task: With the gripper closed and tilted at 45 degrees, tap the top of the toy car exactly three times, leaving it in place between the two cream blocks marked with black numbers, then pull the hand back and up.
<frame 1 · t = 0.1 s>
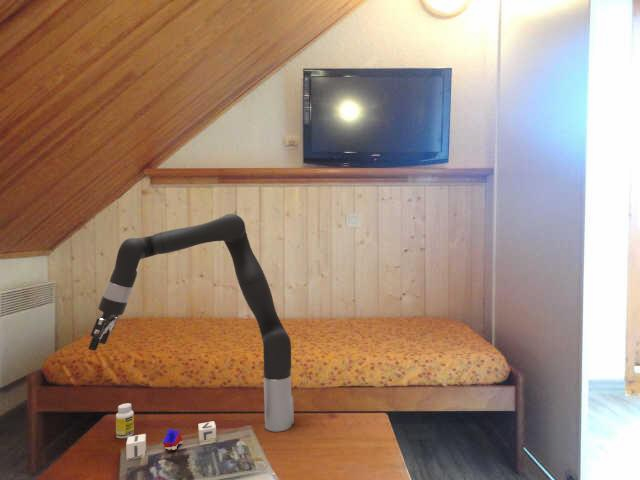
hand: (97, 346, 127), 31 cm above the table, tool tilted 20°, fingers open, 8 cm apart
toy car: (173, 448, 124), on the table
supplement bottle: (125, 435, 133), on the table
cream block marked 1: (136, 455, 120), on the table
cream block marked 7: (207, 441, 128), on the table
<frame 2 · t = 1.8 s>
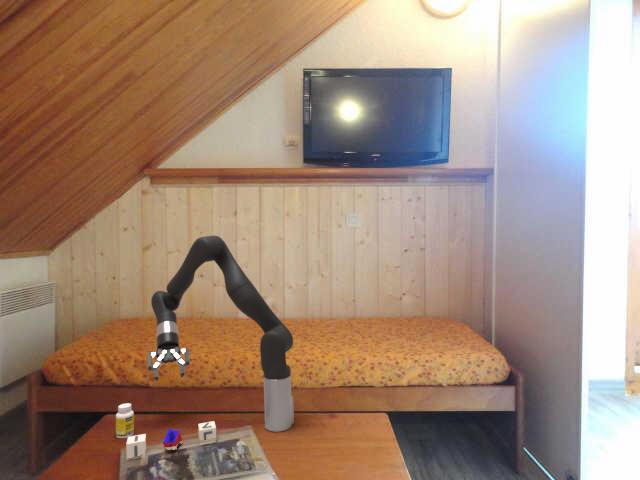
hand: (169, 377, 137), 18 cm above the table, tool tilted 45°, fingers open, 7 cm apart
nothing on the table moved.
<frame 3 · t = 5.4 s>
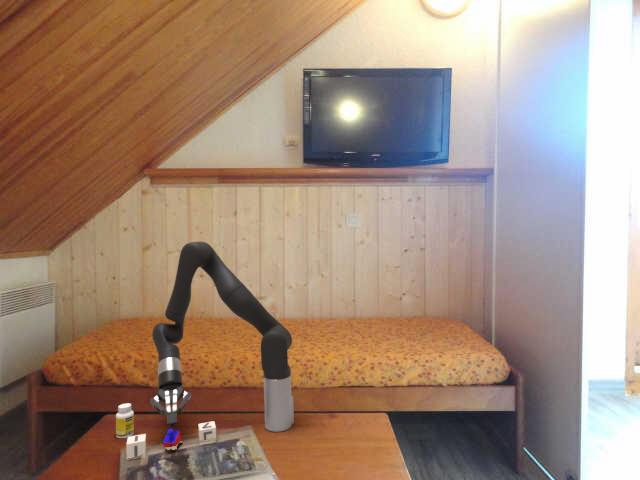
hand: (172, 425, 124), 7 cm above the table, tool tilted 45°, fingers closed
toy car: (173, 448, 124), on the table, touching gripper
everything else where it was.
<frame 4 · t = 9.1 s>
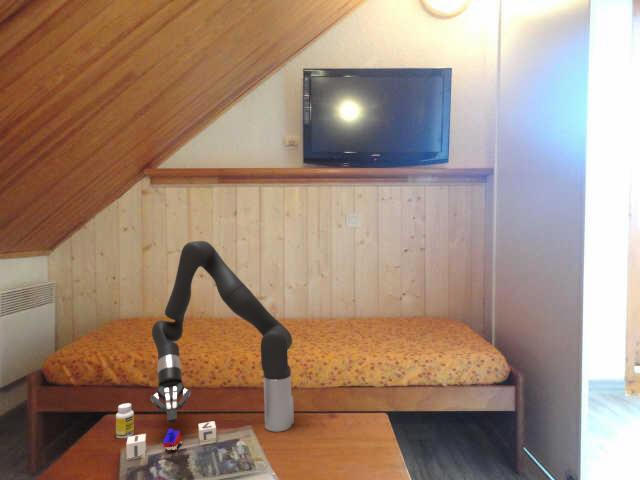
hand: (172, 422, 125), 7 cm above the table, tool tilted 45°, fingers closed
toy car: (173, 448, 124), on the table
everything else where it was.
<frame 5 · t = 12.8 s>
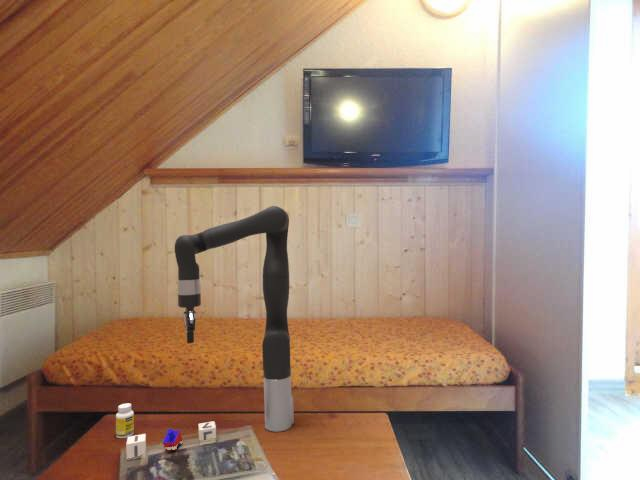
hand: (190, 342, 139), 29 cm above the table, tool pointing down, fingers closed
nothing on the table moved.
at the end: toy car moved 0.3 cm from its start; toy car tilted 0°; cream block marked 1 moved 0.1 cm from its start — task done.
